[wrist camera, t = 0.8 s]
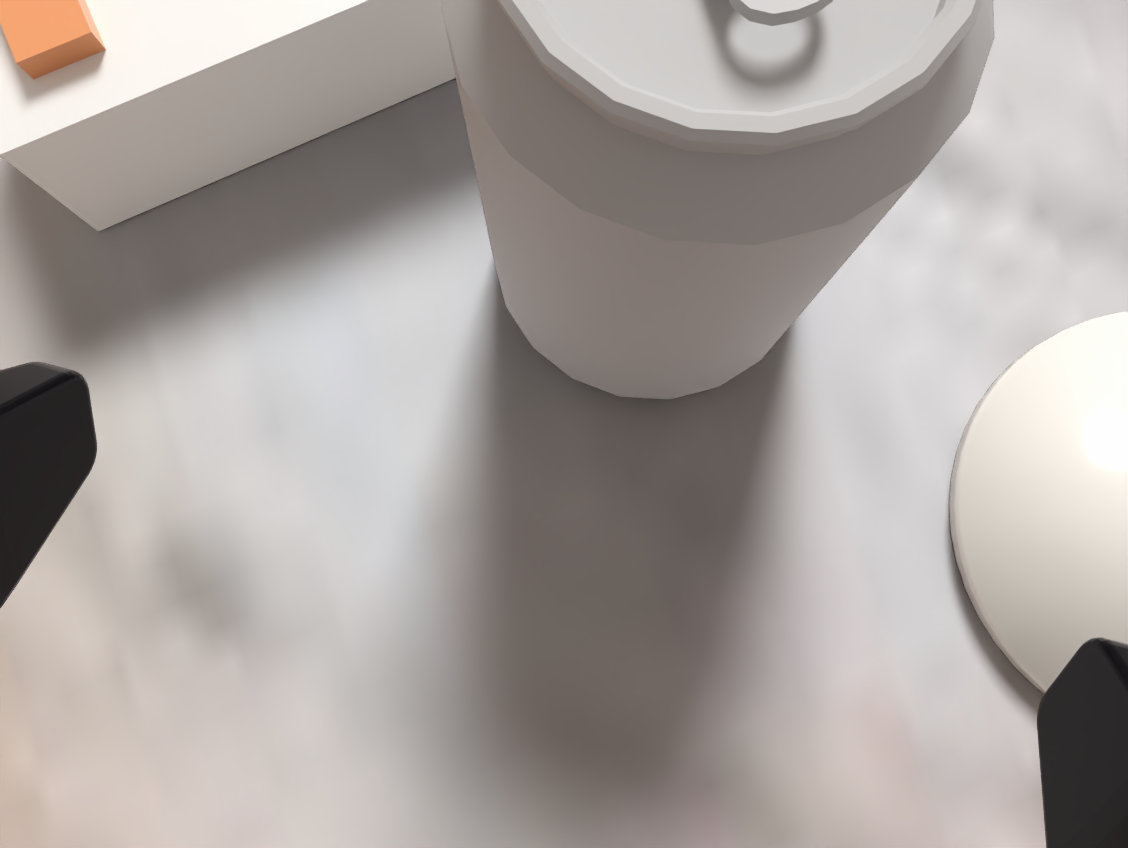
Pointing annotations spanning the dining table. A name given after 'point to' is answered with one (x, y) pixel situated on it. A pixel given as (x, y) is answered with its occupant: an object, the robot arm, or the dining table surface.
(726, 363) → the can
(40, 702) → the dining table surface
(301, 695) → the dining table surface
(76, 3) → the power strip
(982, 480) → the coaster
